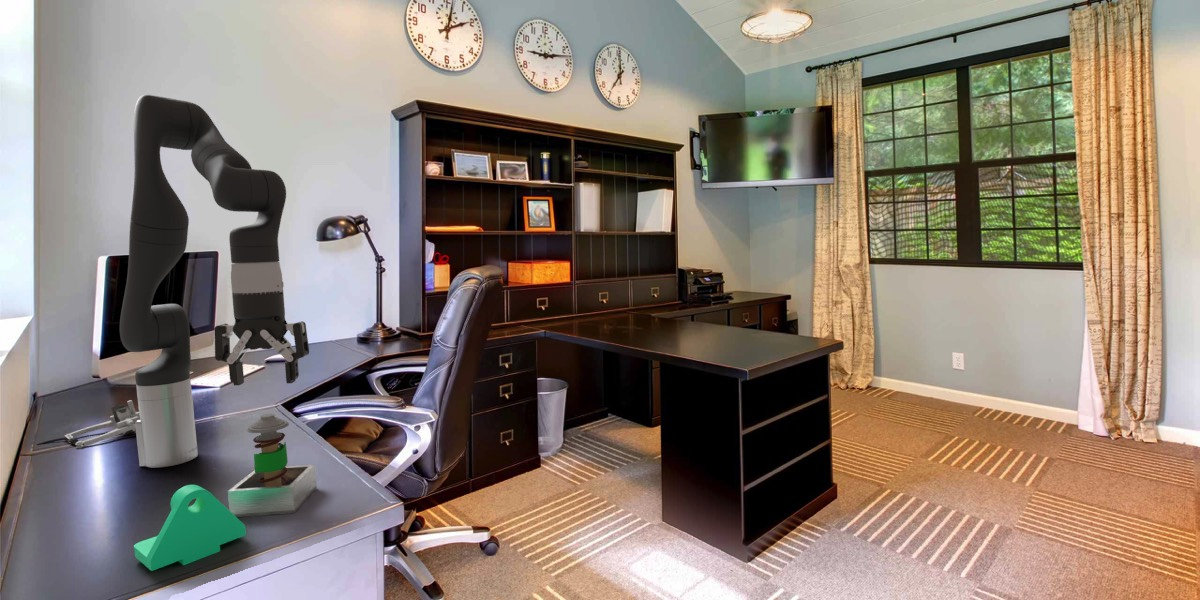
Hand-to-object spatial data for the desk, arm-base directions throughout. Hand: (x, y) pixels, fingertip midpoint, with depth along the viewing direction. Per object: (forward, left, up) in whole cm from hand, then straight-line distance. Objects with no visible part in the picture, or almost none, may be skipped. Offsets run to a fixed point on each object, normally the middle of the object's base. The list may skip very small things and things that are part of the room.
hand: (265, 383), depth 102 cm
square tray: (0, 0, -21) cm, 21 cm away
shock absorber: (0, 0, -21) cm, 21 cm away
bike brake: (-60, +46, -22) cm, 79 cm away
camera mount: (-5, -16, -22) cm, 27 cm away
